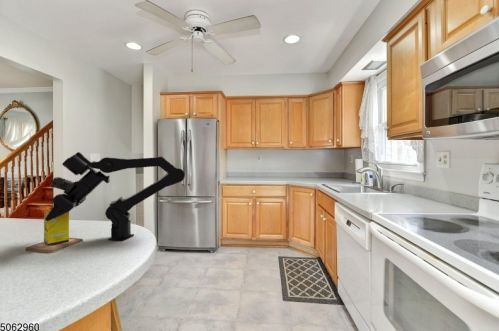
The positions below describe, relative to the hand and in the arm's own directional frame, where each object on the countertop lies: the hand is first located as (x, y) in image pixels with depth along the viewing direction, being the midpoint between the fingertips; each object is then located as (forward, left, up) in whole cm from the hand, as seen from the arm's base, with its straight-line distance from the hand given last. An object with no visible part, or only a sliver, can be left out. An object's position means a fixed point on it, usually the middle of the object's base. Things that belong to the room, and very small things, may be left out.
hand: (50, 217), depth 83 cm
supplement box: (-1, +1, -9) cm, 9 cm away
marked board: (-1, +1, -10) cm, 10 cm away
